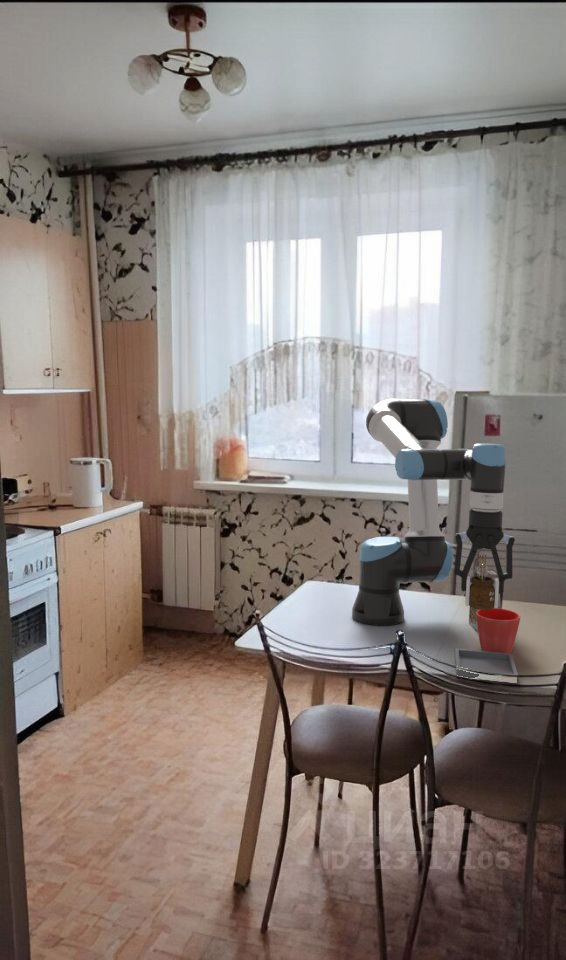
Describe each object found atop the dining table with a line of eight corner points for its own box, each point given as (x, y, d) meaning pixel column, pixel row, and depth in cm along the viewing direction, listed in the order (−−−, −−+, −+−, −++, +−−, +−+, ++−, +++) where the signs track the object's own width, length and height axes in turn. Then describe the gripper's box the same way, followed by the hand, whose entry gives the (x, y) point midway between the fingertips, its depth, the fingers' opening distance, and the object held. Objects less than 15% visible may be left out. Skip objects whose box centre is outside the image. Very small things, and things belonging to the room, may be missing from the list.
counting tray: (456, 677, 162) (456, 669, 161) (454, 656, 175) (455, 648, 175) (517, 684, 159) (518, 675, 159) (511, 661, 172) (511, 653, 172)
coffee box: (501, 633, 192) (505, 576, 190) (478, 633, 192) (482, 576, 190) (489, 622, 201) (492, 568, 199) (467, 622, 201) (470, 568, 199)
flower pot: (470, 641, 186) (472, 606, 184) (513, 643, 185) (515, 608, 183) (477, 656, 175) (479, 619, 174) (522, 658, 174) (525, 621, 173)
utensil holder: (468, 609, 163) (470, 559, 162) (468, 602, 170) (470, 553, 168) (494, 611, 162) (497, 561, 161) (493, 604, 168) (495, 555, 167)
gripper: (444, 509, 162) (440, 606, 164) (530, 513, 158) (524, 613, 160) (444, 505, 169) (440, 598, 172) (526, 509, 165) (521, 604, 167)
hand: (481, 605), depth 166 cm, fingers closed on utensil holder, 6 cm apart
